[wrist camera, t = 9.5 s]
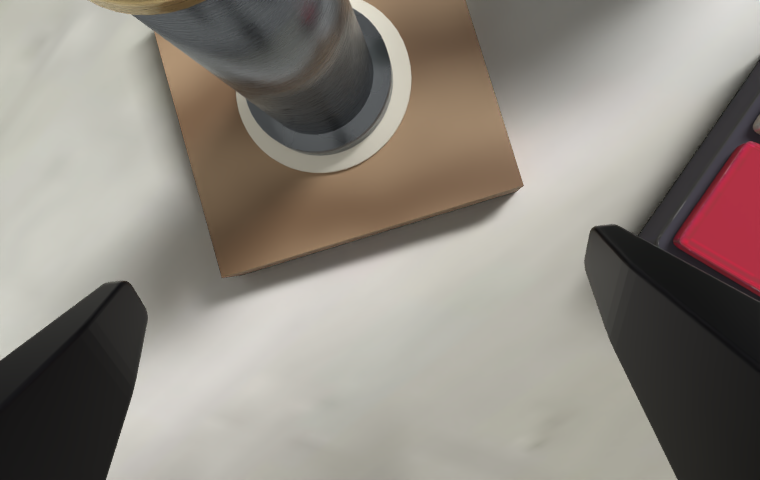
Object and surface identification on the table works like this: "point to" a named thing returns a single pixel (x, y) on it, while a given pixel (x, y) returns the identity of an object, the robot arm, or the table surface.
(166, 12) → the housing
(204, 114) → the stand
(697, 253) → the red and white box
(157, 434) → the table surface
